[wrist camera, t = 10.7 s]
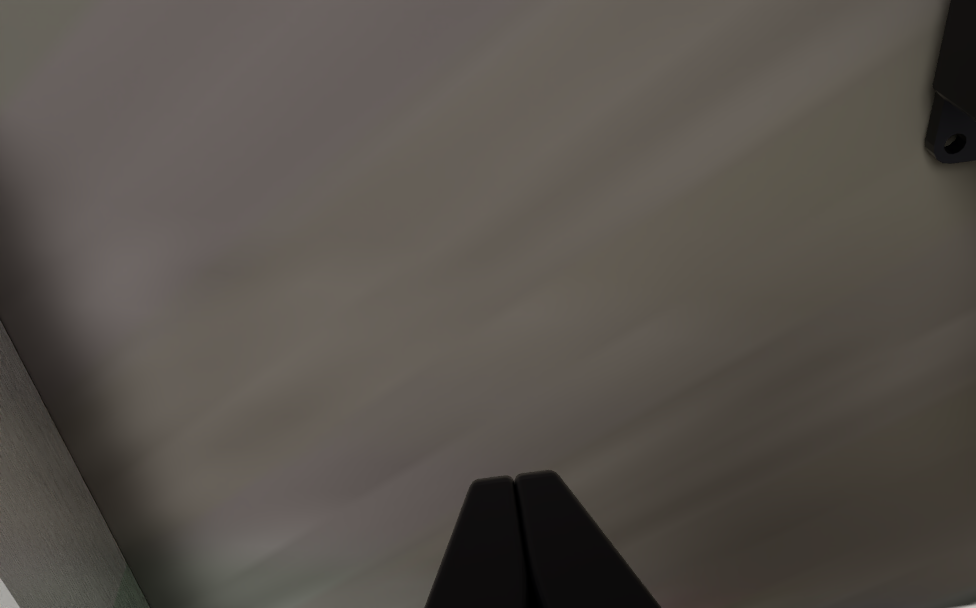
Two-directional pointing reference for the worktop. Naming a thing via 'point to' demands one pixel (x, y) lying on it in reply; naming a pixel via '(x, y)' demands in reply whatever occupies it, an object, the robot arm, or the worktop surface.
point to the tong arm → (50, 511)
